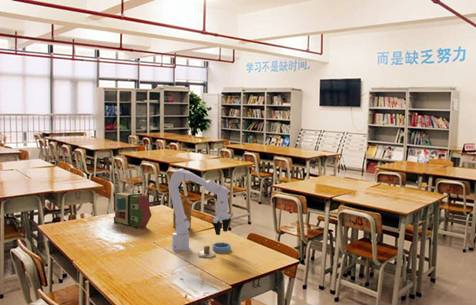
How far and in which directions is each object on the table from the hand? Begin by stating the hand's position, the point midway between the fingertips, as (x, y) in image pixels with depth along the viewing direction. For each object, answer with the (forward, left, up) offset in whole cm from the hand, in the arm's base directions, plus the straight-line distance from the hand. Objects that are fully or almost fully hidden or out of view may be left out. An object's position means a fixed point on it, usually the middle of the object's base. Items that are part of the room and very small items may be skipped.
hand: (221, 233), depth 239 cm
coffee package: (-19, +49, -10) cm, 53 cm away
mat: (-9, -7, -10) cm, 15 cm away
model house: (-52, +55, -10) cm, 76 cm away
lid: (-9, -7, -10) cm, 15 cm away
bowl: (0, 0, -10) cm, 10 cm away
